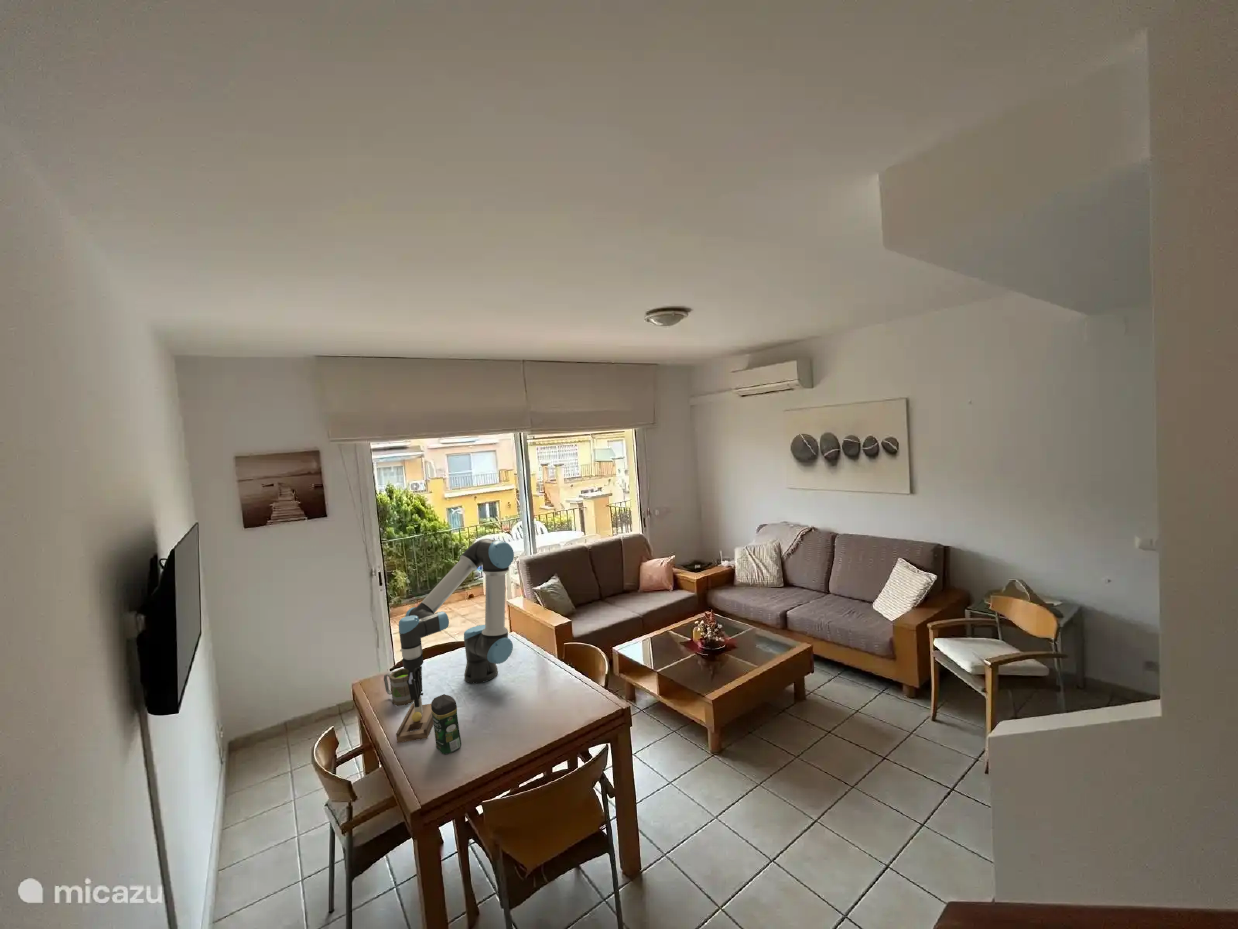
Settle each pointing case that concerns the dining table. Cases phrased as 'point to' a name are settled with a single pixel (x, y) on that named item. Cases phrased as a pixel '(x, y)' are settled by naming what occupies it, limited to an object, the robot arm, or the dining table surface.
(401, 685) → the mug
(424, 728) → the lane board
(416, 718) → the ball
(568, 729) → the dining table surface
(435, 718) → the coffee jar
